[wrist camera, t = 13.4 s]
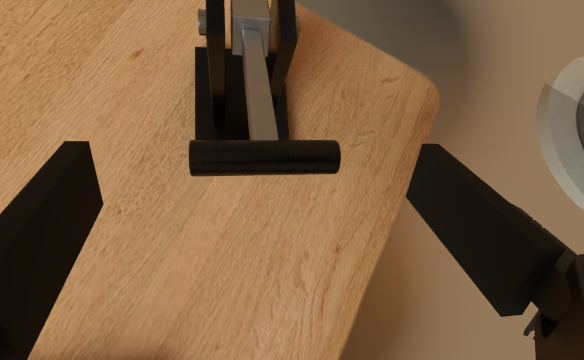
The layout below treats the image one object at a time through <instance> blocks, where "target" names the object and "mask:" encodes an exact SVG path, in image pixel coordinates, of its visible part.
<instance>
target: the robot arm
mask: <svg viewBox="0 0 584 360" xmlns="http://www.w3.org/2000/svg"><path fill="white" fill-rule="evenodd" d="M576 124H577V131H578V136H579V139H580V142H581V145H582V147H583V150H584V94H583V95H582V97H581V99H580V101H579V104H578V107H577V114H576ZM406 198H407V199H408V200H409V201H410V203H411V204H412V205H413V207H414V208H415V209H416V210H417V212H418V213H419V214H420V215H421V217H422V218H423V219H424V220H425V222H426V223H427V224H428V225H429V227H430V228H431V229H432V231H433V232H434V233H435V234H436V235H437V237H438V238H439V239H440V241H441V242H442V243H443V244H444V246H445V247H446V248H447V249H448V251H449V252H450V253H451V254H452V256H453V257H454V258H455V259H456V261H457V262H458V263H459V265H460V266H461V267H462V268H463V270H464V271H465V272H466V273H467V274H468V276H469V277H470V278H471V280H472V281H473V282H474V283H475V285H476V286H477V287H478V288H479V290H480V291H481V292H482V294H483V295H484V296H485V297H486V299H487V300H488V301H489V302H490V303H491V305H492V306H493V307H494V309H495V310H496V311H497V312H498V314H499V315H500V316H501V317H504V316H514V315H522V314H523V312H524V311H525V309H526V308H527V306H528V305H529V303H530V302H531V301H532V302H533V303H534V304H535V306H536V307H537V308H538V309H539V310H538V312H537V313H536V315H535V316H534V317H533V319H532V320H531V322H530V323H529V325H528V326H527V328H526V329H525V331H524V334H523V335H525V336H528V335H529V333H530V332H531V331H533V330H535V336H534V338H533V339H534V340H535V352H536V360H584V254H580V255H577V254H576V253H575V252H573V251H572V250H571V249H569V248H568V247H567V246H566V245H565V244H564V243H562V242H561V241H560V240H559V239H557V238H556V237H555V236H554V235H552V234H551V233H550V232H549V231H548V230H546V229H545V228H542V226H541V225H540V224H539V223H538V222H537V221H535V220H533V218H532V217H530V216H529V215H528V214H527V213H526V212H524V211H523V210H522V209H520V208H518V207H517V206H515V205H513V204H511V203H509V202H508V201H507V200H505V199H504V198H503V197H502V196H501V195H499V194H498V193H497V192H496V191H495V190H493V189H492V188H491V187H490V186H489V185H487V184H486V183H485V182H484V181H482V180H481V179H480V178H479V177H478V176H476V175H475V174H474V173H473V172H472V171H470V170H469V169H468V168H467V167H466V166H464V165H463V164H462V163H461V162H460V161H458V160H457V159H456V158H455V157H453V156H452V155H451V154H450V153H449V152H447V151H446V150H445V149H444V148H443V147H441V146H440V145H439V144H422V146H421V149H420V153H419V156H418V159H417V162H416V165H415V169H414V172H413V175H412V178H411V181H410V185H409V188H408V191H407V194H406ZM102 206H103V200H102V196H101V192H100V187H99V183H98V179H97V175H96V171H95V166H94V162H93V158H92V154H91V149H90V145H89V141H65V142H64V143H63V144H62V145H61V146H60V147H59V148H58V150H57V151H56V152H55V153H54V154H53V155H52V156H51V157H50V159H49V160H48V161H47V162H46V163H45V164H44V165H43V166H42V168H41V169H40V170H39V171H38V172H37V173H36V174H35V175H34V177H33V178H32V179H31V180H30V181H29V182H28V183H27V184H26V186H25V187H24V188H23V189H22V190H21V191H20V192H19V194H18V195H17V196H16V197H15V198H14V199H13V200H12V201H11V203H10V204H9V205H8V206H7V207H6V208H5V209H4V210H3V212H2V213H1V214H0V360H27V359H28V357H29V355H30V353H31V351H32V349H33V347H34V345H35V343H36V341H37V338H38V336H39V334H40V332H41V330H42V328H43V326H44V324H45V322H46V320H47V318H48V316H49V314H50V312H51V310H52V308H53V306H54V304H55V302H56V300H57V298H58V296H59V294H60V292H61V290H62V288H63V286H64V284H65V282H66V280H67V277H68V275H69V273H70V271H71V269H72V267H73V265H74V263H75V261H76V259H77V257H78V255H79V253H80V251H81V249H82V247H83V245H84V243H85V241H86V239H87V237H88V235H89V233H90V231H91V229H92V227H93V225H94V223H95V221H96V219H97V217H98V214H99V212H100V210H101V208H102Z"/></svg>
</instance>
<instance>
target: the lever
mask: <svg viewBox="0 0 584 360" xmlns="http://www.w3.org/2000/svg"><path fill="white" fill-rule="evenodd" d="M270 28H271V15H270V10H269V6H268V1H267V0H231V48H232V55H242V57H243V68H244V79H245V90H246V101H247V112H248V123H249V134H250V140H191V141H190V143H189V169H190V174H191V176H247V175H305V174H336V173H337V172H338V170H339V168H340V162H341V152H340V147H339V144H338V142H337V141H335V140H279V139H278V133H277V126H276V120H275V114H274V108H273V102H272V96H271V90H270V84H269V78H268V72H267V65H266V59H265V57H267V56H268V50H269V39H270Z"/></svg>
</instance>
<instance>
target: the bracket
mask: <svg viewBox="0 0 584 360" xmlns="http://www.w3.org/2000/svg"><path fill="white" fill-rule="evenodd" d="M270 15H271V28H270V39H269V50H268V56H267V57H265V59H266V65H267V72H268V78H269V84H270V90H271V96H272V102H273V108H274V114H275V120H276V126H277V133H278V139H279V140H289V129H288V114H287V99H286V84H285V79H286V76H287V73H288V70H289V66H290V63H291V60H292V57H293V54H294V51H295V48H296V45H297V42H298V37H299V32H300V20H299V17H296V14H295V1H294V0H272V2H271V8H270ZM198 29H199V35H204V36H206V40H207V48H205V47H195V140H250V134H249V123H248V112H247V101H246V90H245V79H244V68H243V57H242V55H232V49H225V8H224V0H206V10H201V9H199V10H198Z"/></svg>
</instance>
